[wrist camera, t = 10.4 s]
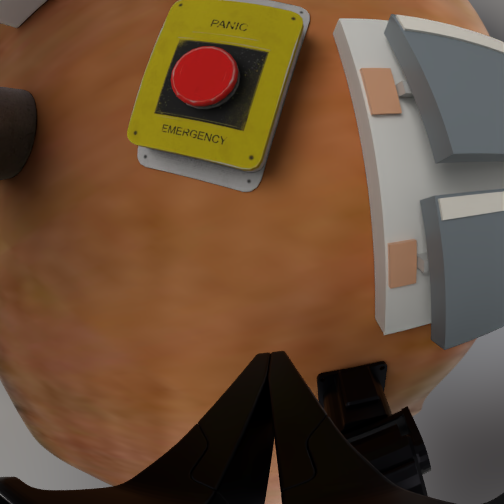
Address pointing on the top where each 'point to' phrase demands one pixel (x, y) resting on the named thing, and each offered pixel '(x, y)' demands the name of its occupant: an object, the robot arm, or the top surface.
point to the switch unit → (398, 172)
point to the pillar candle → (15, 130)
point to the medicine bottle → (17, 11)
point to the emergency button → (217, 89)
